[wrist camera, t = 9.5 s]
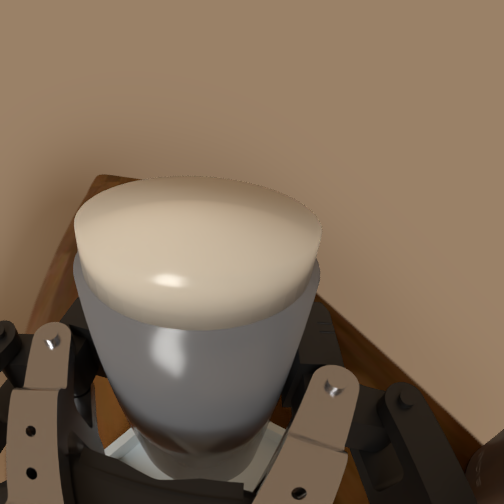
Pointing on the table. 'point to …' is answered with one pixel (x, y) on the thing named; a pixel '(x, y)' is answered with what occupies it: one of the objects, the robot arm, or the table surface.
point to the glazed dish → (136, 457)
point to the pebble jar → (196, 311)
